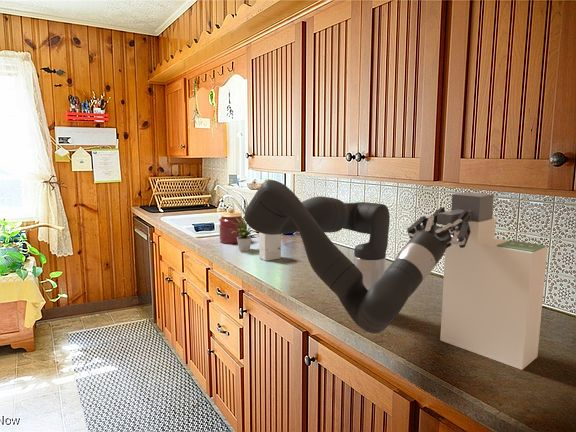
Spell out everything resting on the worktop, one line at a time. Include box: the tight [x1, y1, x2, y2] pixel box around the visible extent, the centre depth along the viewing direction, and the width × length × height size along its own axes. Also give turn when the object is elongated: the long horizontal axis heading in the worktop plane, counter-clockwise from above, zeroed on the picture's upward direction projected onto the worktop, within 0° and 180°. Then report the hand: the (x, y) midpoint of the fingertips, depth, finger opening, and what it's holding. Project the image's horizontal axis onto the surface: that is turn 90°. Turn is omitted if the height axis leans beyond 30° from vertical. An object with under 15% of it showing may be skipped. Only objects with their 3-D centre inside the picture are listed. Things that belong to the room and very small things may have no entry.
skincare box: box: [258, 232, 282, 262], centre depth 194 cm, size 8×6×15 cm
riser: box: [439, 217, 548, 371], centre depth 105 cm, size 20×9×32 cm, turn 41°
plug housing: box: [436, 191, 495, 226], centre depth 104 cm, size 7×16×6 cm, turn 131°
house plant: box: [232, 218, 254, 252], centre depth 210 cm, size 14×14×16 cm
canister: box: [218, 208, 245, 245], centre depth 228 cm, size 13×13×18 cm
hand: (454, 211), depth 101 cm, fingers open, 5 cm apart
